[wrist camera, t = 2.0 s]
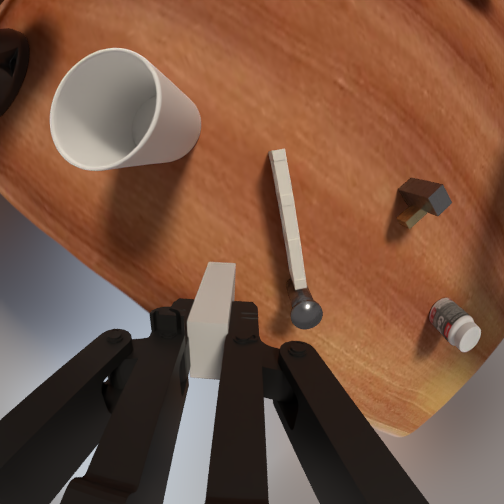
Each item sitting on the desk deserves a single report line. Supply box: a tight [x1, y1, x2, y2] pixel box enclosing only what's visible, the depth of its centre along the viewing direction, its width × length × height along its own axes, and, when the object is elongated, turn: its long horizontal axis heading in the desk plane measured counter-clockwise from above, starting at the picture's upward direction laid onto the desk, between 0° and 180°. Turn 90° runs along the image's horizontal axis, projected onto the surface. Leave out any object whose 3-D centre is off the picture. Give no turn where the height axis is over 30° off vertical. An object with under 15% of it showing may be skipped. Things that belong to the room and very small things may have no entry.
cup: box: [50, 48, 201, 171], centre depth 23 cm, size 8×8×16 cm
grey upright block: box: [397, 178, 452, 229], centre depth 30 cm, size 3×5×7 cm, turn 131°
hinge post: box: [287, 278, 323, 329], centre depth 33 cm, size 3×3×7 cm
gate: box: [268, 149, 307, 290], centre depth 31 cm, size 14×1×5 cm, turn 11°
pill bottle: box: [429, 298, 481, 352], centre depth 34 cm, size 5×5×8 cm
